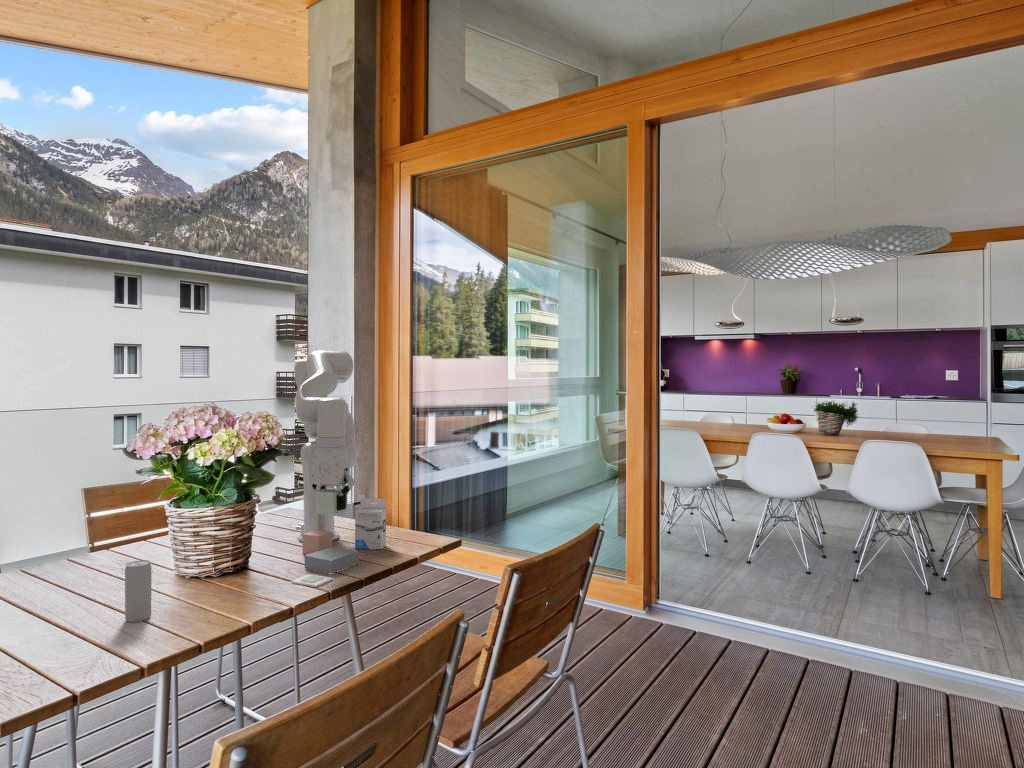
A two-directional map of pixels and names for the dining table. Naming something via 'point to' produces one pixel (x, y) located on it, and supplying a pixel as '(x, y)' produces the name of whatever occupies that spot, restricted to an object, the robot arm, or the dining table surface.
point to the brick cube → (316, 541)
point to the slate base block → (331, 559)
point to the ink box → (370, 524)
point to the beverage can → (138, 591)
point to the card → (311, 580)
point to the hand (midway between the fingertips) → (331, 508)
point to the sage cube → (327, 501)
